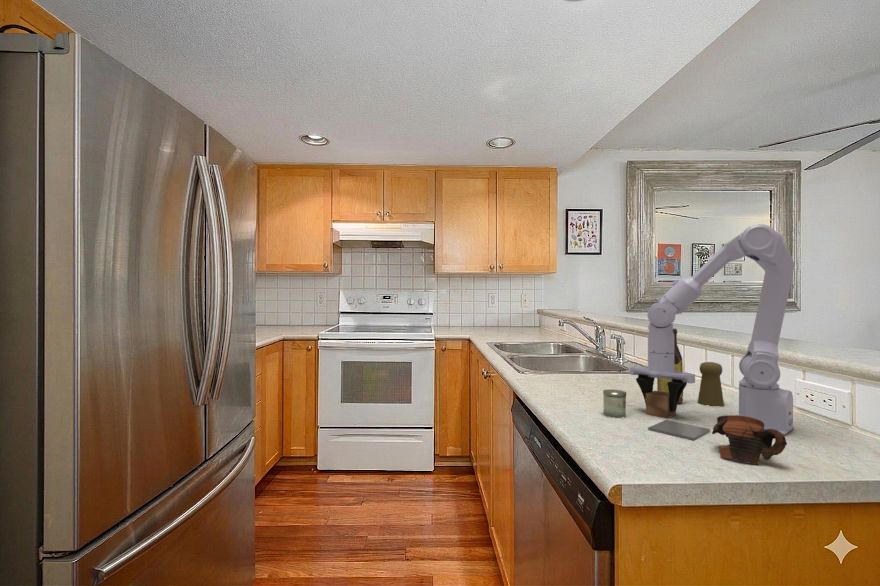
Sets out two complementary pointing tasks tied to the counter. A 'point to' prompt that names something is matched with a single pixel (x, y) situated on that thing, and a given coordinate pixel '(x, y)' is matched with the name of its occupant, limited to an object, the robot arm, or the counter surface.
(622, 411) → the green spice tin
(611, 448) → the counter surface
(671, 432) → the slate tile
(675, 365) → the sauce bottle
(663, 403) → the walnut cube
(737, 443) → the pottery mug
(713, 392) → the cork
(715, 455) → the counter surface
